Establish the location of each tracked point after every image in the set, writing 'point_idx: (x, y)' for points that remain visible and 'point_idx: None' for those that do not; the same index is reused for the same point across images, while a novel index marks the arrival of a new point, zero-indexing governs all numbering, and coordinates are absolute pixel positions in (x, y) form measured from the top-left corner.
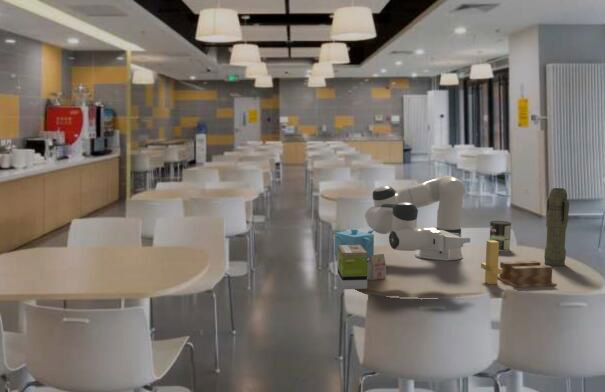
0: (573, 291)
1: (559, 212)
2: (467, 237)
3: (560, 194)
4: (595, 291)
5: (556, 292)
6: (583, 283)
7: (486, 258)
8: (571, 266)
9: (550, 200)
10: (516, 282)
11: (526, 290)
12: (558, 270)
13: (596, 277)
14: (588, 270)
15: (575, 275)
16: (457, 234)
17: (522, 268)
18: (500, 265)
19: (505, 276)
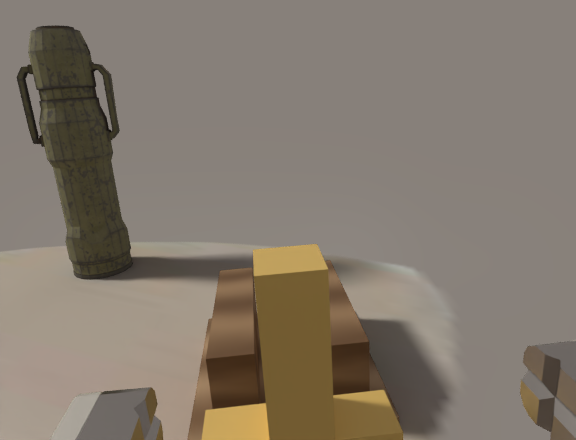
0: (417, 298)
1: (94, 106)
2: (545, 351)
3: (81, 44)
4: (404, 270)
5: (446, 330)
6: None
7: (275, 403)
8: (144, 253)
9: (51, 69)
10: None
11: (446, 400)
12: (169, 274)
13: (261, 246)
14: (194, 243)
15: (233, 264)
16: (138, 423)
17: (358, 321)
18: (210, 375)
19: None
